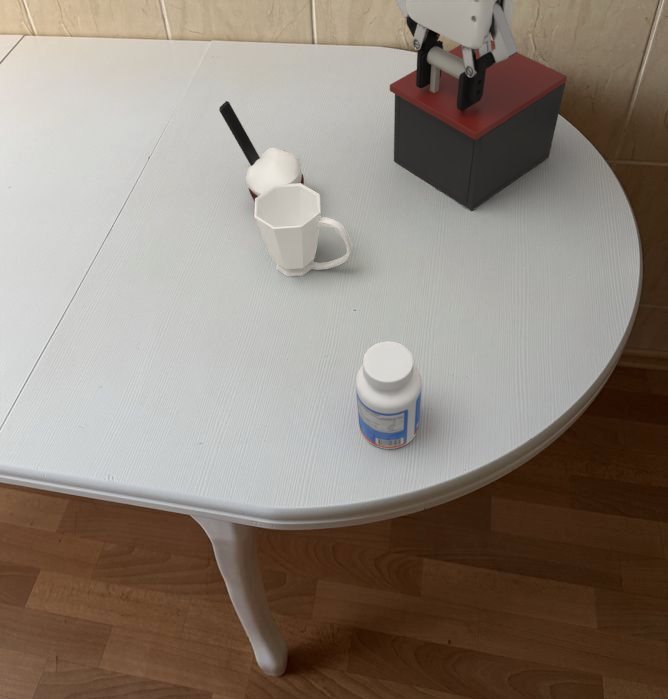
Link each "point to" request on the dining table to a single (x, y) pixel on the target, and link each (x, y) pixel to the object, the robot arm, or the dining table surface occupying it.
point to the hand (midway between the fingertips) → (448, 91)
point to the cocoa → (263, 159)
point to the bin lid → (498, 94)
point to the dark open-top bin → (474, 149)
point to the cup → (294, 228)
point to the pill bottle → (388, 395)
